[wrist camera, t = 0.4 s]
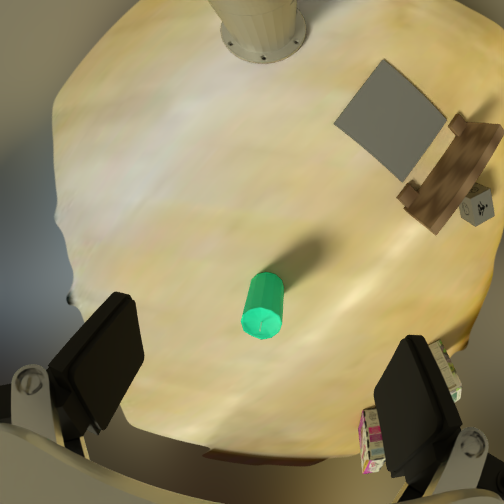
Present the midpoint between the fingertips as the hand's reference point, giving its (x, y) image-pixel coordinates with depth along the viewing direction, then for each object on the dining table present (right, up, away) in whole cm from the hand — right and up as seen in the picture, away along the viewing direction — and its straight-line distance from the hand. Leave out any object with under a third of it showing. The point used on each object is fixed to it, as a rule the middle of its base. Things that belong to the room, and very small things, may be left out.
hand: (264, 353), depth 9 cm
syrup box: (+40, -19, +43) cm, 62 cm away
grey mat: (+21, +23, +26) cm, 41 cm away
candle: (+2, -3, +40) cm, 40 cm away
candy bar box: (+32, -43, +54) cm, 76 cm away
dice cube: (+38, +13, +29) cm, 49 cm away
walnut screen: (+30, +17, +27) cm, 44 cm away
